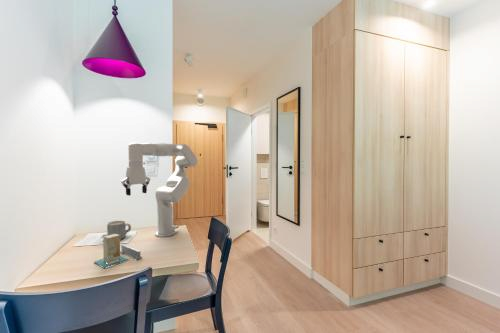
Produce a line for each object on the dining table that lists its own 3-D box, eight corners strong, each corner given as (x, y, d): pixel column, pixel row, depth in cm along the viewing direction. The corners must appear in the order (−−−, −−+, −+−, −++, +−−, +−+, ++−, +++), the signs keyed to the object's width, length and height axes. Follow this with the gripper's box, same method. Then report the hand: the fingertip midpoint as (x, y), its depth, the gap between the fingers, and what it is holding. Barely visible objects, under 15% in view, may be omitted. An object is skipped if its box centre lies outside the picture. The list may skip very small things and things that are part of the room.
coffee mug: (108, 242, 147) (107, 225, 146) (107, 237, 155) (106, 222, 155) (132, 238, 154) (132, 222, 153) (130, 233, 162) (130, 218, 162)
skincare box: (108, 263, 117) (107, 238, 116) (103, 261, 119) (102, 236, 118) (121, 258, 122) (120, 234, 122) (116, 256, 124) (115, 233, 124)
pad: (116, 255, 128) (116, 253, 128) (128, 260, 122) (128, 258, 122) (93, 262, 119) (93, 261, 119) (105, 268, 113) (104, 267, 113)
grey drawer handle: (125, 251, 133) (125, 243, 133) (142, 258, 124) (142, 250, 124) (119, 252, 131) (119, 245, 131) (136, 260, 122) (136, 252, 122)
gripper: (145, 163, 148) (146, 191, 149) (117, 164, 134) (118, 195, 135) (153, 164, 144) (153, 192, 145) (124, 165, 130) (125, 196, 131)
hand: (136, 194), depth 140 cm, fingers open, 9 cm apart
